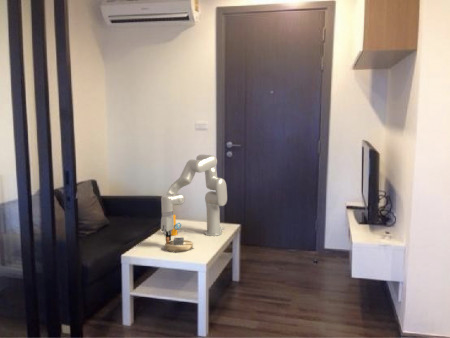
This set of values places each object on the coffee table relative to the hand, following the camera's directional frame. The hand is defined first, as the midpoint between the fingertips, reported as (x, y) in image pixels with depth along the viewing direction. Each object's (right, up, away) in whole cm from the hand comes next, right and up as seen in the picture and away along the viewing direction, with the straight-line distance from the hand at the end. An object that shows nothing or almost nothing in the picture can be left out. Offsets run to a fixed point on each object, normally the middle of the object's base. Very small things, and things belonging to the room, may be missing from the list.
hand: (168, 240), depth 287 cm
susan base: (+8, -4, -5) cm, 10 cm away
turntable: (+8, -4, -5) cm, 10 cm away
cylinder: (0, -1, +27) cm, 28 cm away
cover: (+8, -1, -5) cm, 9 cm away
